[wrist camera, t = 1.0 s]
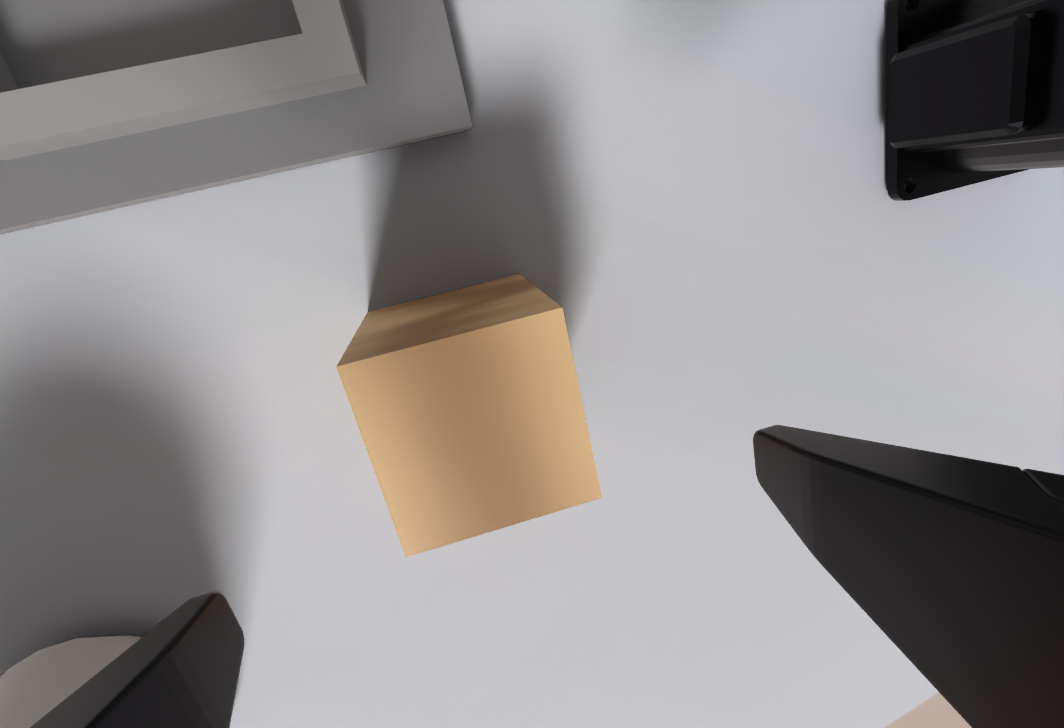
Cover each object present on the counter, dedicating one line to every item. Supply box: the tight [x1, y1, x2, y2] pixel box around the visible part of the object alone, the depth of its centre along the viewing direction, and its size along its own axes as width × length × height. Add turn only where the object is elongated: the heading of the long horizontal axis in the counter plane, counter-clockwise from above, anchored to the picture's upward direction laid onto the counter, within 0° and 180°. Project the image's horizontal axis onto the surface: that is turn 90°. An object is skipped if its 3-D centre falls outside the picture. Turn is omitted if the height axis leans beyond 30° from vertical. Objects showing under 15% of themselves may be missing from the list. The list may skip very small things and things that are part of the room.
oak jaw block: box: [337, 274, 602, 557], centre depth 15 cm, size 5×5×6 cm
